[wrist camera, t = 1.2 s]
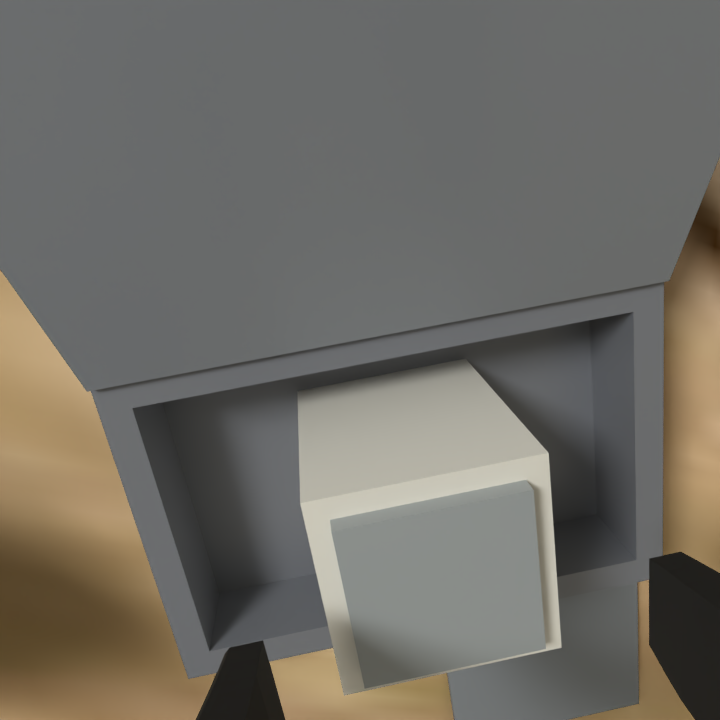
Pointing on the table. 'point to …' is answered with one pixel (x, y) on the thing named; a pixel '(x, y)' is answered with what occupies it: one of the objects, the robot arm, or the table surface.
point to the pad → (562, 666)
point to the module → (426, 525)
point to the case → (352, 252)
